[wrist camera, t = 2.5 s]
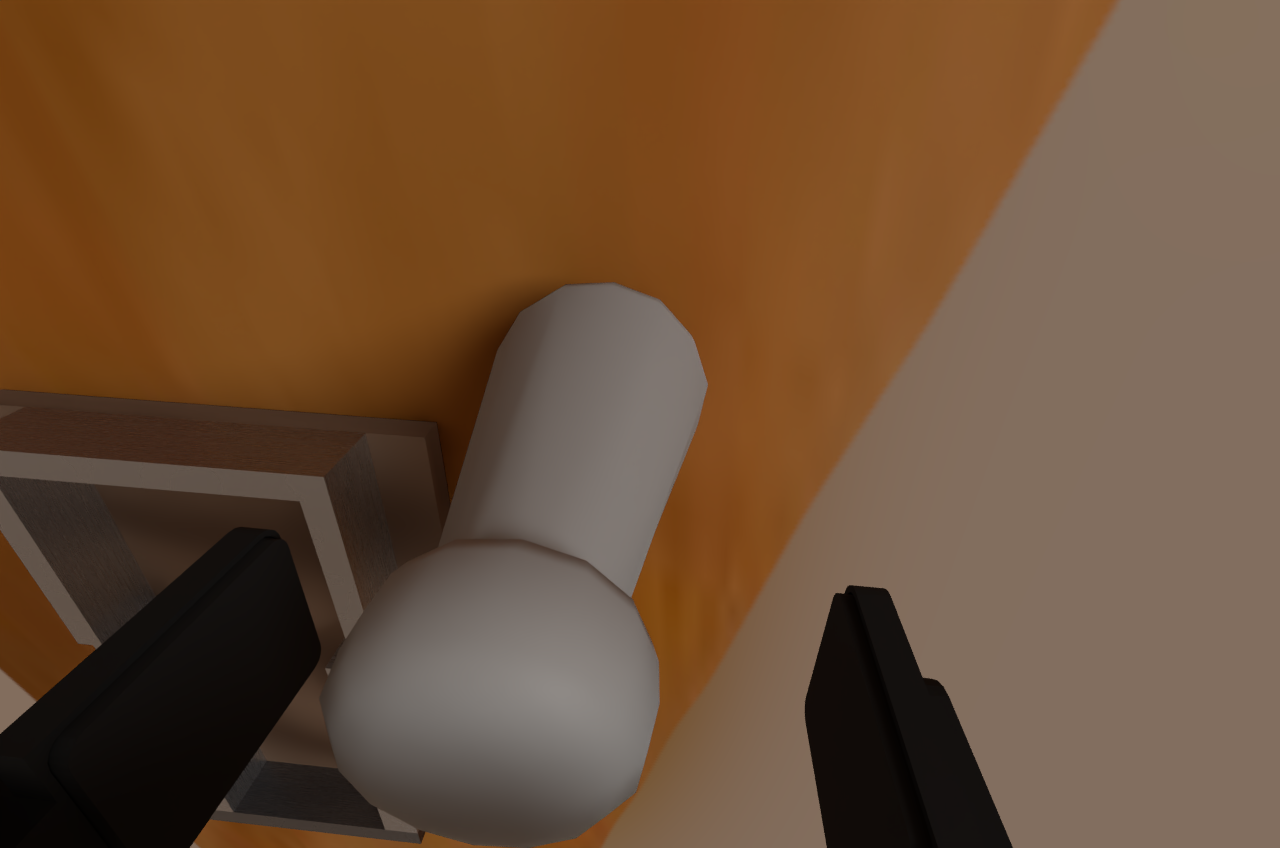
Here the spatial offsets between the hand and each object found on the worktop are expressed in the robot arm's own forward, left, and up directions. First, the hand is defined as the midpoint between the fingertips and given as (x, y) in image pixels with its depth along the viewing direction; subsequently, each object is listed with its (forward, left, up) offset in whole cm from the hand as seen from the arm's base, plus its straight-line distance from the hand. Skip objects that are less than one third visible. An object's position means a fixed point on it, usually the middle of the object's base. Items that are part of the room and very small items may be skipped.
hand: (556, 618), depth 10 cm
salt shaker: (-1, 0, -10) cm, 10 cm away
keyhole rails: (+13, -14, -10) cm, 22 cm away
